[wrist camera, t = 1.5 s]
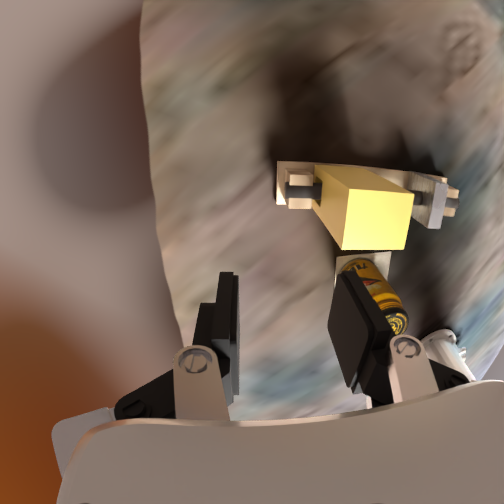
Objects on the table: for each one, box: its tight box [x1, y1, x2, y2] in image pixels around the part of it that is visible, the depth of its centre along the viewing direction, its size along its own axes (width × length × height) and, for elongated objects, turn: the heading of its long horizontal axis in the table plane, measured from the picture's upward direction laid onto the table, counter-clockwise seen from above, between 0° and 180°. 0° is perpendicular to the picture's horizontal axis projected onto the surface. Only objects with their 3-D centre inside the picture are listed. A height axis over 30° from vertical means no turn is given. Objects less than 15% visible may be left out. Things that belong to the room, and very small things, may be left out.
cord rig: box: [276, 161, 460, 217], centre depth 31 cm, size 24×5×5 cm, turn 89°
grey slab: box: [407, 171, 448, 229], centre depth 30 cm, size 2×5×6 cm, turn 179°
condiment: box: [334, 251, 409, 335], centre depth 33 cm, size 7×8×12 cm
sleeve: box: [312, 165, 414, 250], centre depth 26 cm, size 6×5×11 cm
